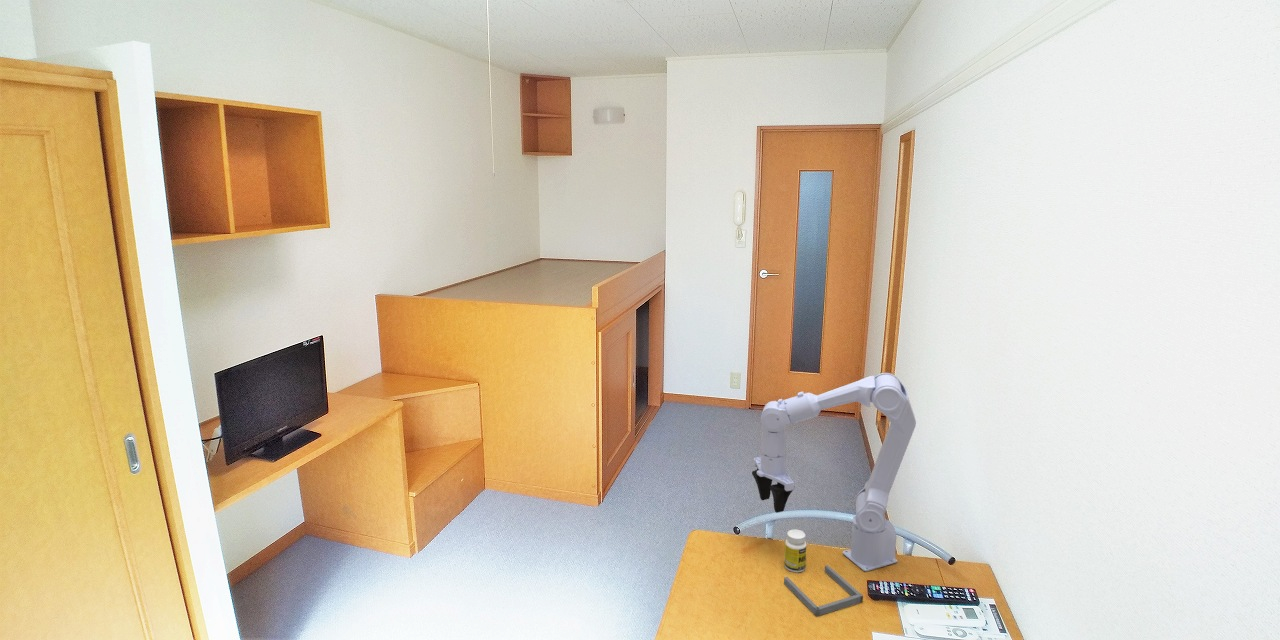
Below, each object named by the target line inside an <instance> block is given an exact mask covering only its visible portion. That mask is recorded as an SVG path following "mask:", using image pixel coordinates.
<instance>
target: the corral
mask: <svg viewBox="0 0 1280 640" xmlns="http://www.w3.org/2000/svg"><path fill="white" fill-rule="evenodd" d="M824 573H826V574H827V575H828V576H829V577H830V578H831V579H832V580H834V582H836V583H837V584H838V586H840V587H841V588H842V589H843V590H844V591H845V592H847V593H848V594H849V595H850V596H848V597H845V598H841V599H839V600H835V601H832V602H829V603H826V604H822V605H817V604H816V603H814V602H813V600H811V598H810V597H809V596H807V594H805V593H804V592H803V591H802V590H801V589H800V587H798V586H797V585H796V584H795V583H794V582H793V581H792V580H791V579H790V578H789V577H788V576H785V577H783V584H784V586H786V587H787V589H789V591H791V592H792V594H793V595H794V596H795V597H796V598H797V599H798V600H799V601H800V602H801V603H803V605H804V606H805V607H806V608H807V609H808V610H809V611H810V612H811V613H812V614H813V615H814V616H815V617H816V618H817V617H820V616H822V615H827V614H829V613H832V612H836V611H839V610H842V609H846V608H848V607H851V606H854V605H858V604H861V603H863V601H864V596H863V594H862V593H861V592H859V590H857V589H856V588H855V587H853V585H851V584H850V583H849V582H848V581H847V580H846V579H844V577H842V575H840V573H838V572H836V571H835V570H834V568H832V567H830V566H829V564H826V565H824Z"/></svg>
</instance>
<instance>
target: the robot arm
mask: <svg viewBox="0 0 1280 640" xmlns="http://www.w3.org/2000/svg"><path fill="white" fill-rule="evenodd" d="M855 402H856V403H859V404H861V405H863V406H865V407H868V408H871V403H872V404H873V406H874V408H875V409H876V410H877V411H879V412H880V413H881V414H883V415H884V416H885V417H886V418H887V419H888V421H889V426H888V428H887V431H886V434H885V436H884V439H883V441H882V444H881V447H880V450H879V451H878V452H879V453H878V454H877V456H876V457H877V458H876V460H875V463H874V465H873V468H872V471H871V473H870V475H869V479H868V480H867V481H866V482H865V484H864V487H863V488H862V489H861V490H859V492H857V494H856V495H855V498H854V499H855V501H854V502H855V506H856V507H855V512H856V513H855V516H854V517H853V518H852V527H851V528H852V529H851V541H850V542H851V543H850V544H851V545H850V548H849V549H846V550H843V551H842V555H844V556H845V557H846V558H847V559H848V560H849V561H851V562H853V564H855V565H856V566H857V567H858V568H859V569H861V570H862V571H863V572H869V571H872V570H876V569H879V568H882V567H886V566H889V565H892V564H896V563H898V559H897V558H896V548H897V531H896V528H895V526H894V525H893V523H892V522H891V521H890V520H888V519H886V515H885V514H886V510H887V508H888V500H889V496H890V492H891V490H892V487H893V485H894V482H895V480H896V477H897V474H898V471H899V469H900V467H901V465H902V462H903V459H904V456H905V453H906V451H907V449H908V446H909V444H910V441H911V438H912V436H913V433H914V432H915V428H916V426H917V425H916V424H917V421H916V417H915V414H914V410H913V408H912V404H911V402H910V399H909V395H908V392H907V389H906V387H905V385H904V384H903V383H902V381H901V380H900V378H898V376H896V375H894V374H893V373H890V372H882V373H879V374H877V375H870V376H867V377H864V378H861V379H859V380H857V381H854V382H851V383H847V384H845V385H842V386H840V387H837V388H834V389H832V390H829V391H826V392H823V393H820V394H814V393H812V392H804V391H800V392H797V395H795V396H792V397H789V398H786V399H783V398H780V399H778V400H771V401H769V402H767V403H765V405H764V406H763V408H762V409H763V410H762V412H761V415H760V424H761V431H762V432H761V436H760V437H761V440H760V443H761V444H760V456H758V457H754V458H753V460H752V461H753V462H752V466H754V467H755V468H756V470H752V472H751V476H752V477H753V478H754V481H755V484H756V486H757V489H758V490H757V491H758V493H759V498H760V500H761V501H766V500H769V499H771V498H770V497H771V494H772V497H773V498H772V499H773V510H774V512H775V513H781V512H784V511H785V508H786V505H787V501H788V499H789V497H790V496H791V494H792V492H793V491H795V481H793V479H792V478H791V477H790V475H789V473H788V471H787V469H786V464H787V463H786V462H787V461H786V459H787V434H786V427H787V425H793V424H797V423H800V422H803V421H807V420H811V419H813V418H817V417H818V416H819V414H820V413H821V411H822V410H826V409H830V408H834V407H835V408H836V407H838V406H842V405H846V404H847V405H848V404H852V403H855ZM773 481H775V482H777V483H775V484H772V483H773ZM849 550H851V551H849Z"/></svg>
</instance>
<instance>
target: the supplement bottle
mask: <svg viewBox="0 0 1280 640" xmlns="http://www.w3.org/2000/svg"><path fill="white" fill-rule="evenodd" d="M784 542H785V543H784V546H785V547H784V564H783V565H784V568H785V569H786V570H788V571H789V572H791V573H802V572H804V571H805V570H806V566H807V564H806V563H807V546H808V545H807V542H806V533H805V532H804V531H803V530H800V529H796V528H795V529H794V528H793V529H790V530H788V531H787V533H786V540H785V541H784Z"/></svg>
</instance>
